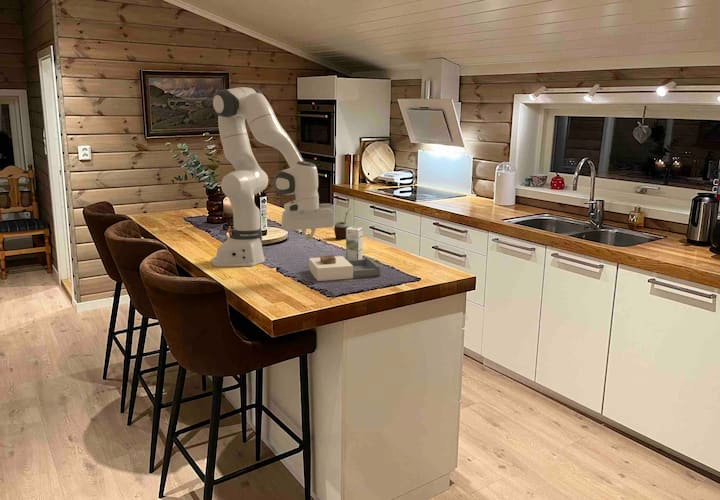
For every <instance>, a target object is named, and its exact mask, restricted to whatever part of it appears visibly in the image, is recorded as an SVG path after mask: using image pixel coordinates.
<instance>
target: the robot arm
mask: <svg viewBox="0 0 720 500" xmlns="http://www.w3.org/2000/svg"><path fill="white" fill-rule="evenodd" d="M211 103H212V108H213V111H214V112H215V114H216V115H217V119H218V120H217V123H218V131H219V137H220V141H221V145H222V148H223V152H224V157H225V159H226V160H227V161H228V162H230V164H231V165H232V167H233V168H234V170H233V171H230V172H229V173H227V174H226V175H224V176H223V178H222V180H221V183H220V186H221V191H222V192H223V194H224V195H225V196H226V197H227V198H228V200H229V203H230V205H231V209H232V214H233V215H232V216H233V228H231V227H230V228H227V234H228V235H229V238H228V239H226V240H225V241H223V243H221V244H220V245H219V246H218V248H217V250H216V254H215V255H216V256H214V257H212V258H211V265H212V266H214V267H219V268H221V267H222V268H225V267H226V268H228V267H253V266H256V265H257V264H258V265H259V264H261V263H264V262H265V261H266V257H265V255H264V250H263V244H262V243H263V242H262V241H263V232H262V231H263V230H262V227H261V210H260V208H259V207H258V206H257V205H256V202H255V200H254V195H257V194H259V193H261V192H263V191H264V190H265V189H266V188H267V187H268V184H269V176H268V174H267V173H266V172H265V171H264V170H263V168H261V166H260V165H259V163H258V162H257V159H256V157H255V155H254V153H253V150H252V147H251V143H250V138H249V134H248V131H247V128H246V123H245V122H247V124H248V127H249V129H250V132H251V134H252V135H253V137H254V139H255V140H256V141H257V142H258V143H261V144H263V145H266V146H269V147H272V148H274V149H276V150H278V152H280V153H281V154H282V156H283V157H284V159H285V161H286V162H287V164H288V166H289V167H288V168H286V169H283V170H280V171H278V172H277V173H276V174H275V175H274V179H273V185H274V188H275V190H276V191H277V193H278V194H280V195H282V196H289V195H295V199H294V200H291V201H289V202H287V203H284V205H283V208H284V210H283V212H282V214H281V229H283V230H284V231H297V230H301V231H300V232H301V233H302V234H303V236H304V241H313V240H314V239H313V238H314V235H315V233H316V229H325V228H326V229H327V228H334V227H335V217H334V214H335V206H334V205H333V204H331V203H329V202H328V203H320V200H319V199H320V195H319V191H318V189H319V176H318V175H319V173H318V169H317V166H316V164H315V163H313V162H312V161H306V160H304V158H303V157H302V154H301V152H299V149H298V148H297V146H296V144H295V142H294V141H293V139H292V137H291V136H290V135H289V133H287V132H286V130H285V129H284V128H283V127H282V125H281V123H280V122H279V120H278V118H277V116H276V114H275V112H274V109H273V108H272V105H271V104H270V103H269V101H268V100H267V98H266V96H265V95H264V93H263V92H262V91H261V89H260V88H257V87H252V86H249V87H246V86H244V87H242V86H240V87H238V86H237V87H235V88H234V87H233V88H228V89H220V90H218V91H215V93H214V94H213V96H212V101H211ZM307 230H310V231H311V233H310V234H306V232H307Z"/></svg>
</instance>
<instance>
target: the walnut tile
mask: <svg viewBox="0 0 720 500" xmlns="http://www.w3.org/2000/svg"><path fill="white" fill-rule="evenodd" d="M320 261H321V262H322V263H323V264H332V263H336V258H335V255H333V254H332V255H320Z"/></svg>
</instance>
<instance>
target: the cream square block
mask: <svg viewBox="0 0 720 500" xmlns="http://www.w3.org/2000/svg"><path fill="white" fill-rule="evenodd" d="M334 257H335V258H336V263H332V264H323V263H322V262H321V261H320V257H308V271H309V272H310V273H311V275H312V276H313V277H314V279H315V280H316V281H317V282H322V281H324V282H325V281H335V280H336V281H337V280H349V279H354V278H353V265H352V264H350V263H349V262H348V261H347V260H346V257H344V256H343V255H338V256H337V255H336V256H335V255H334Z"/></svg>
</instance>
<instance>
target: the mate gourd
mask: <svg viewBox="0 0 720 500" xmlns="http://www.w3.org/2000/svg"><path fill="white" fill-rule="evenodd" d="M350 210H351V208H348V210H347V212H346V213H345V217H344V220H343V222H342V221H340V222H339V221H338V222H336V223H334V226H333V230H334V231H333V232H334V235H335V238H334V239H335V240H339V241H342V240H346V229H347V228H348V227H349V225H348V223H347V222H346V220H347V216H348V213H349V212H350Z"/></svg>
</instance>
